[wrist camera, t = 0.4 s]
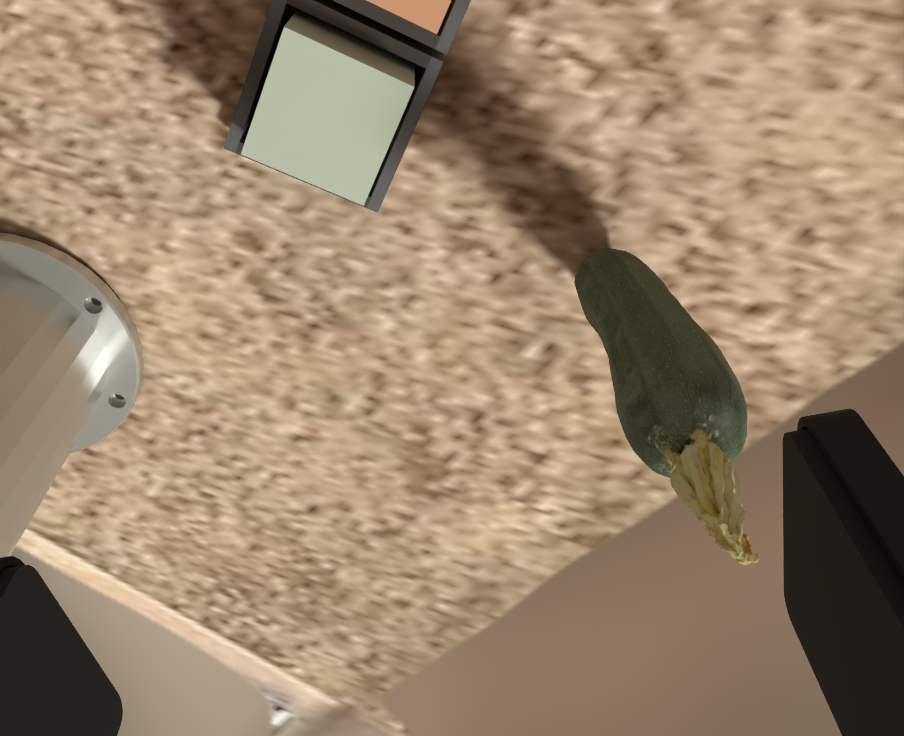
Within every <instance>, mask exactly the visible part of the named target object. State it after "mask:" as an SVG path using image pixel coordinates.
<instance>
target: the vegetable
mask: <svg viewBox="0 0 904 736" xmlns="http://www.w3.org/2000/svg"><path fill="white" fill-rule="evenodd" d="M575 286H576V290H577V293H578V296H579V299H580V302H581V305H582V308H583V311H584V314H585V316H586V319H587V320H588V321H589V323H590V324H591V326H592V327H593V328H594V329H595V331H596V332H597V333H598V334H599V336H600V338H601V340H602V342H603V345H604V348H605V350H606V352H607V355H608V358H609V364H610V370H611V376H612V381H613V386H614V392H615V400H616V408H617V414H618V416H619V419H620V422H621V425H622V428H623V431H624V433H625V436H626V438H627V440H628V442H629V443H630V445H631V447H632V448H633V450H634V452H635V453H636V454H637V455H638V456H639V457H640V458H641V459H642V461H643V462H644V463H645V464H646V465H647V466H648V467H650V468H651V469H652V470H653V471H654V472H656V473H658V474H661V475H663V476H666V477H669V478H671V484H672V487H673V488H674V490H675V491H676V493H677V495H678V496H679V497H680V498H681V499H682V500H683V502H684V503H685V504H686V505H687V506H688V507H689V508H690V509H691V510H692V512H693V514H694V515H695V516H696V517H697V519H698V520H699V522H700V523H702V524H704V526H705V528H706V531H708V533H709V535H710V536H712V537H715V538H716V541H715V543H716V544H718V545H719V546H720V548H722V549H724V550H726V551H727V552H728V553H729V555H730V556H732V557H733V558H736V560H737V562H739V563H741V564H743V565H747V564H750V563H756V562H760V561H759V560H758V555H757V554H752V553H751V548H752V546H751V545H750V544H749V542H748V539H749V535H747V534H743V535H742V530H743V528H742V524H741V523H742V522H743V520H744V513H745V511H744V509H743V508H742V500H741V496H740V482H739V479H738V476H737V474H736V473H735V471H734V470H733V467H732V465H731V463H732V462H733V461H734V460H735V458H736V457H737V456H738V455H739V453H740V452H741V451H742V448H743V446H744V443H745V440H746V437H747V407H746V402H745V399H744V395H743V392H742V390H741V387H740V385H739V382H738V380H737V378H736V376H735V374H734V373H733V371H732V369H731V367H730V366H729V364H728V362H727V361H726V359H725V357H724V356H723V354H722V352H721V351H720V349H719V348H718V346H717V345H716V344H715V342H714V341H713V340H712V339H711V338H710V336H709V335H708V334H707V333H706V332H705V331H704V330H703V329H702V328H701V327H700V326H699V325H698V324H697V323H696V322H695V321H694V320H693V319H692V318H691V316H690V315H689V314H688V313H687V311H686V310H685V309H684V308H683V307H682V306H681V304H680V303H679V301H678V300H677V299H676V298H675V297H674V296H673V295H672V294H671V293H670V292H669V290H668V288H667V287H666V285H665V284H664V283H663V282H662V281H661V279H660V278H659V277H658V276H657V275H656V274H655V273H654V272H653V271H652V270H651V269H650V268H649V267H648V266H647V265H646V264H644V263H643V262H642V261H641V260H640V259H638V258H637V257H636V256H634V255H632V254H630V253H628V252H626V251H621V250H616V249H610V248H603V249H601V250H599V251H598V252H597V253H595V254H593V255H591V256H589V257H588V258H587V259H586V260H585V261H584V262H583V263H582V265H581V267H580V269H579V271H578V273H577V275H576V277H575Z"/></svg>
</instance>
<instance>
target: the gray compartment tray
mask: <svg viewBox="0 0 904 736" xmlns="http://www.w3.org/2000/svg"><path fill="white" fill-rule="evenodd" d="M470 1H471V0H451V3H450V5H449V7H448V10H447V12H446V14H445V17H444V19H443V21H442V24H441V26H440V28H439V31H438V33H437V34H435V33H433V32H431V31H429V30H427V29H425V28H422V27H420V26H418V25H416V24H414V23H412V22H410V21H408V20H406V19H404V18H402V17H400V16H398V15H395V14H393V13H391V12H389V11H387V10H385V9H383V8H381V7H379V6H377V5H375V4H373V3H371V2H369V1H366V0H272V2H271V5H270V8H269V11H268V14H267V17H266V20H265V23H264V26H263V29H262V32H261V35H260V38H259V41H258V45H257V48H256V51H255V54H254V57H253V60H252V63H251V66H250V69H249V72H248V75H247V78H246V81H245V84H244V87H243V90H242V93H241V96H240V99H239V102H238V105H237V108H236V111H235V115H234V118H233V121H232V124H231V127H230V130H229V133H228V136H227V139H226V142H225V145H224V149H227V150H229V151H232V152H234V153H236V154H239V155H241V152H242V149H243V146H244V143H245V140H246V137H247V134H248V131H249V128H250V125H251V123H252V120H253V117H254V114H255V111H256V108H257V105H258V102H259V99H260V96H261V93H262V90H263V87H264V84H265V81H266V78H267V76H268V73H269V70H270V67H271V64H272V61H273V58H274V55H275V52H276V49H277V46H278V43H279V40H280V37H281V34H282V31H283V28H284V26H285V25H286V24H287V22H288V21H289V20H290V18H291V17H292V16H293V15H294V13H295V12H296V11H297V9H300V10H302V11H304V12H306V13H308V14H310V15H312V16H314V17H317V18H319V19H321V20H323V21H325V22H327V23H329V24H332V25H334V26H336V27H338V28H340V29H342V30H344V31H346V32H349V33H351V34H353V35H355V36H357V37H359V38H361V39H363V40H366V41H368V42H370V43H372V44H374V45H376V46H378V47H380V48H383V49H385V50H387V51H389V52H391V53H393V54H395V55H398V56H400V57H402V58H404V59H406V60H408V61H410V62H412V63H415V87H414V89H413V92H412V94H411V96H410V99H409V101H408V103H407V106H406V108H405V110H404V113H403V115H402V118H401V120H400V122H399V125H398V127H397V129H396V132H395V134H394V136H393V139H392V141H391V143H390V146H389V148H388V150H387V153H386V155H385V157H384V160H383V162H382V164H381V167H380V169H379V171H378V174H377V176H376V178H375V181H374V183H373V185H372V188H371V190H370V192H369V195H368V197H367V199H366V202H365V204H364V206H363V205H361V206H363V207H366V208H368V209H370V210H373V211H375V212H377V213H378V211H379V209H380V206H381V204H382V202H383V199H384V197H385V195H386V193H387V190H388V188H389V186H390V183H391V181H392V179H393V177H394V174H395V172H396V170H397V167H398V165H399V163H400V161H401V158H402V156H403V154H404V152H405V149H406V147H407V145H408V142H409V140H410V138H411V136H412V133H413V131H414V129H415V126H416V124H417V122H418V120H419V117H420V115H421V113H422V110H423V108H424V106H425V104H426V101H427V99H428V97H429V95H430V92H431V90H432V88H433V85H434V83H435V81H436V79H437V76H438V74H439V72H440V69H441V67H442V65H443V63H444V61H443V53H444V54H446V55H447V53H448V51H449V49H450V47H451V44H452V42H453V40H454V37H455V35H456V33H457V31H458V28H459V26H460V24H461V22H462V19H463V17H464V15H465V12H466V10H467V8H468V6H469V3H470ZM241 156H243V155H241ZM244 157H246V156H244ZM246 158H248V157H246ZM248 159H250V158H248ZM251 160H253V159H251ZM253 161H255V160H253ZM256 162H258V161H256ZM258 163H260V162H258ZM260 164H262V163H260ZM263 165H265V164H263ZM265 166H267V165H265ZM267 167H270V166H267ZM270 168H272V167H270ZM272 169H274V168H272ZM275 170H277V169H275ZM277 171H279V170H277ZM279 172H281V171H279ZM282 173H284V172H282ZM284 174H286V173H284ZM287 175H289V174H287ZM289 176H291V175H289ZM291 177H293V176H291ZM294 178H296V177H294ZM296 179H298V178H296ZM299 180H301V179H299ZM301 181H303V180H301ZM303 182H305V181H303ZM306 183H308V182H306ZM308 184H310V183H308ZM311 185H313V184H311ZM313 186H315V185H313ZM315 187H317V186H315ZM318 188H320V187H318ZM320 189H322V188H320ZM322 190H324V189H322ZM325 191H327V190H325ZM327 192H329V191H327ZM330 193H332V192H330ZM332 194H334V193H332ZM334 195H336V194H334ZM337 196H339V195H337ZM339 197H341V196H339ZM342 198H344V197H342ZM344 199H346V198H344ZM346 200H348V199H346ZM349 201H351V200H349ZM351 202H353V201H351ZM354 203H356V202H354ZM356 204H358V203H356ZM358 205H360V204H358Z"/></svg>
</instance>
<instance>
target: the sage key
mask: <svg viewBox="0 0 904 736" xmlns="http://www.w3.org/2000/svg"><path fill="white" fill-rule="evenodd" d="M414 87H415V63H412V62H410V61H408V60H406V59H404V58H402V57H400V56H398V55H395V54H393V53H391V52H389V51H387V50H385V49H383V48H380V47H378V46H376V45H374V44H372V43H370V42H368V41H366V40H363V39H361V38H359V37H357V36H355V35H353V34H351V33H349V32H346V31H344V30H342V29H340V28H338V27H336V26H334V25H332V24H329V23H327V22H325V21H323V20H321V19H319V18H317V17H314V16H312V15H310V14H308V13H306V12H304V11H302V10H300V9H297V11H296V12H295V13H294V15H293V16H292V17H291V18H290V20H289V21H288V22H287V24H286V25H285V26H284V28H283V31H282V34H281V37H280V40H279V43H278V46H277V49H276V52H275V55H274V58H273V61H272V64H271V67H270V70H269V73H268V76H267V78H266V81H265V84H264V87H263V90H262V93H261V96H260V99H259V102H258V105H257V108H256V111H255V114H254V117H253V120H252V123H251V125H250V128H249V131H248V134H247V137H246V140H245V143H244V146H243V149H242V152H241V155H243V156H246V157H248V158H250V159H253V160H255V161H258V162H260V163H262V164H265V165H267V166H270V167H272V168H274V169H277V170H279V171H281V172H284V173H286V174H289V175H291V176H293V177H296V178H298V179H301V180H303V181H305V182H308V183H310V184H313V185H315V186H317V187H320V188H322V189H324V190H327V191H329V192H332V193H334V194H336V195H339V196H341V197H344V198H346V199H348V200H351V201H353V202H356V203H358V204H360V205H363V206H364V204H365V202H366V199H367V197H368V195H369V192H370V190H371V188H372V185H373V183H374V181H375V178H376V176H377V174H378V171H379V169H380V167H381V164H382V162H383V160H384V157H385V155H386V153H387V150H388V148H389V146H390V143H391V141H392V139H393V136H394V134H395V132H396V129H397V127H398V125H399V122H400V120H401V118H402V115H403V113H404V110H405V108H406V106H407V103H408V101H409V99H410V96H411V94H412V92H413V89H414Z"/></svg>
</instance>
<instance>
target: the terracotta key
mask: <svg viewBox="0 0 904 736" xmlns="http://www.w3.org/2000/svg"><path fill="white" fill-rule="evenodd" d="M366 1H369V2H371V3H373V4H375V5H377V6H379V7H381V8H383V9H385V10H387V11H389V12H391V13H393V14H395V15H398V16H400V17H402V18H404V19H406V20H408V21H410V22H412V23H414V24H416V25H418V26H420V27H422V28H425V29H427V30H429V31H431V32H433V33H435V34H437V33H438V31H439V28H440V26H441V24H442V21H443V19H444V17H445V14H446V12H447V10H448V7H449V5H450V3H451V0H366Z"/></svg>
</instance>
